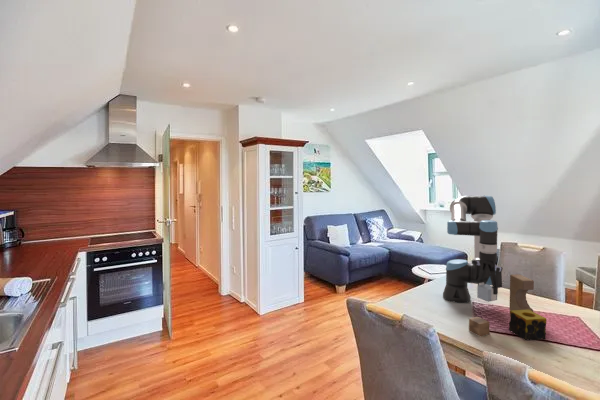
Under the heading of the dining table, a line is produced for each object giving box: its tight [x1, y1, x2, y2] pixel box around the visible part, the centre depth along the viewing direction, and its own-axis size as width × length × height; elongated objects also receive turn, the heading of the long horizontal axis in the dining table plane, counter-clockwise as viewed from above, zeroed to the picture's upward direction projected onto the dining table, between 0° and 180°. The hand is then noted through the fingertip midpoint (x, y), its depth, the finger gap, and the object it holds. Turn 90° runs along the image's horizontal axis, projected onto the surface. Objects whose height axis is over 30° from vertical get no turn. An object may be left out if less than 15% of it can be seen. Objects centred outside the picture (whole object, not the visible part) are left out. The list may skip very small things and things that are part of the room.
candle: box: [508, 309, 547, 341], centre depth 145 cm, size 10×10×10 cm
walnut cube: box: [468, 316, 491, 337], centre depth 148 cm, size 6×6×6 cm
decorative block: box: [509, 273, 535, 312], centre depth 166 cm, size 11×6×20 cm, turn 177°
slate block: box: [476, 284, 498, 303], centre depth 155 cm, size 6×6×6 cm
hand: (487, 297), depth 155 cm, fingers closed on slate block, 6 cm apart
